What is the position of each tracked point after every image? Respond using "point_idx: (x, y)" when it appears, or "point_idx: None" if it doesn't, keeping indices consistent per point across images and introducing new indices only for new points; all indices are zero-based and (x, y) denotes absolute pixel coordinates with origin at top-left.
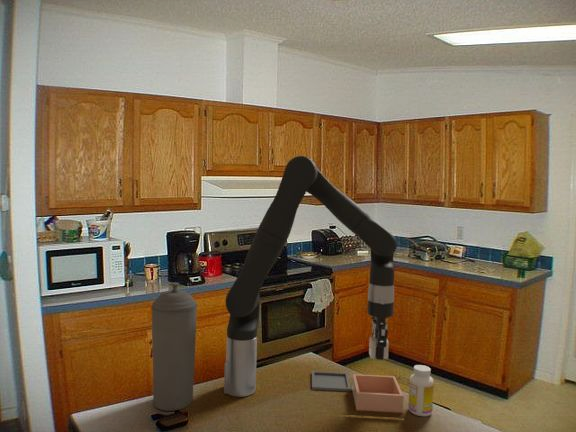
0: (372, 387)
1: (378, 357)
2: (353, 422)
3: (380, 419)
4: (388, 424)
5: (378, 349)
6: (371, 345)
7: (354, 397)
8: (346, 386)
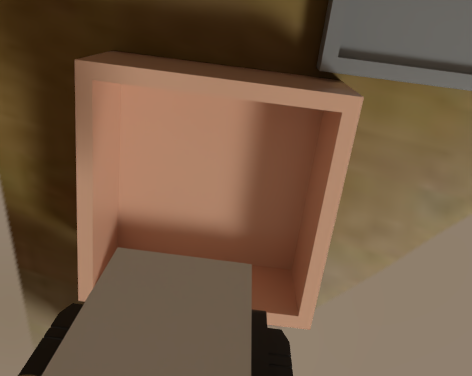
0: (311, 191)
1: (66, 315)
2: (10, 12)
3: (58, 150)
4: (21, 171)
5: (21, 373)
6: (65, 336)
7: (210, 66)
8: (382, 56)
